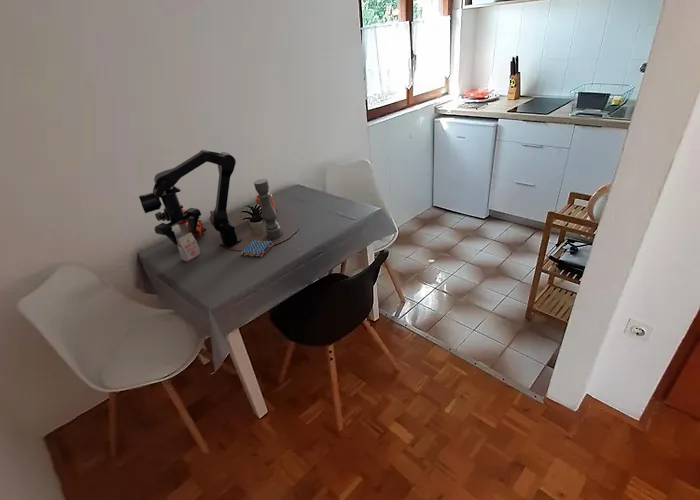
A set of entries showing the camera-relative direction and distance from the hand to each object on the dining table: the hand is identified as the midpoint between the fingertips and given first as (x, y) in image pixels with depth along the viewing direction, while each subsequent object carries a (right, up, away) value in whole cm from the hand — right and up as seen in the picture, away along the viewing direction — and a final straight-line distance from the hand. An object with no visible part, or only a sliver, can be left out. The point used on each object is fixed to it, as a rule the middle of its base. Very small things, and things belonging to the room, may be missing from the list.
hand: (185, 239), depth 170 cm
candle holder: (+35, +2, +11) cm, 36 cm away
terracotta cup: (+27, +14, +34) cm, 46 cm away
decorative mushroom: (-8, +7, +16) cm, 19 cm away
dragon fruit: (-3, +2, +22) cm, 22 cm away
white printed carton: (+1, -7, +4) cm, 9 cm away
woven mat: (+29, -5, +1) cm, 30 cm away
